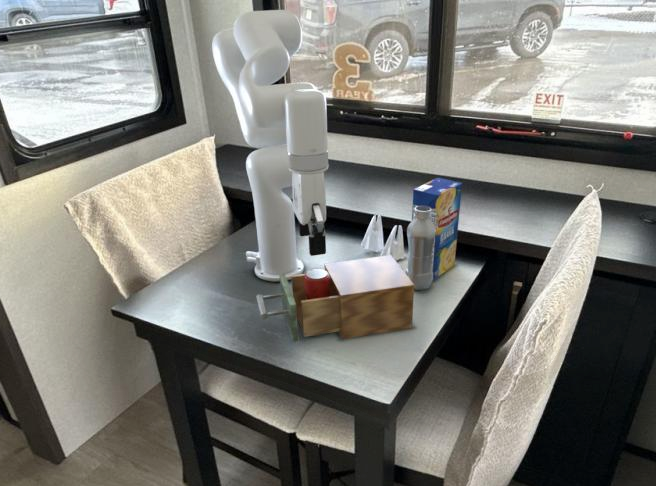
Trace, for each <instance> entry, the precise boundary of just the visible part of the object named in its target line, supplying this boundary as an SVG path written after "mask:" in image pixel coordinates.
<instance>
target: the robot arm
mask: <svg viewBox="0 0 656 486" xmlns="http://www.w3.org/2000/svg"><path fill="white" fill-rule="evenodd" d="M234 21H235V22H234V24H233V27H230V28H226V29H222V30H220V31H218V32H217V33H216V34H215V35H214V36H213V39H212V42H211V49H212V50H211V51H212V56H213V62H214V64H215V68H216V70H217V72H218V75H219V77H220V79H221V81H222V82H223V84H224V86H225V87H226V89H227V91H228V92H229V94H230V95H231V98H232V100H233V104H234V108H235V112H236V116H237V119H238V121H239V125H240V129H241V132H242V135H243V138H244V140H245V142H246V143H247V145H248V146H250V147H252V148H258V149H255V150H254V151H252V152H250V153H249V154H248V156H247V157H246V160H245V169H246V174H247V177H248V182H249V186H250V190H251V195H252V200H253V207H254V209H253V210H254V218H255V227H256V236H257V247H258V251H257V252H256V251H250V250H248V251H246V252H245V258H246V262H247V263H251V264H252V263H254V264H256V265H254V274H255V275H256V276H257V277H258V278H260V279H261V280H264V281H267V282H280V277H279V275H281V274H285V276H286V279H287V281H290V280H292V278H291V276H292V275H299V274H303V272H304V271H305V269H304V268H305V266H304V263H303V261H302V260H300V259H299V258H298V252H297V235H296V220H295V219H296V218H297V220H298V232H299V233H298V234H299V237H308V250H309V251H308V252H309V253H308V254H309V255H310V256H311V257H313V256H322V255H326V254H327V243H326V242H327V241H326V240H327V239H326V237H327V236H326V230H325V222H326V221H327V199H326V198H327V197H326V196H327V195H326V182H325V174H324V173H325V172H326V171H328V169H329V147H328V145H329V144H328V143H329V142H328V116H327V115H328V113H327V111H328V110H327V109H328V108H327V98H326V95H325V94H324V92H322V91H320V90H318V89H317V87H316V86H315V85H314V84H312V82H311V83H310V82H292V83H278V84H275V83H276V82H278V81H279V80H281V79H282V78H283V77H284V76H285V75H286V73H287V72H288V69H289V67H290V61H291V60H290V58H292V57H293V56H295V54H297V52H298V51H299V50H300V48H301V45H302V41H303V29H302V25H301V22H300V20H299V18H298V17H297V15H296V14H295V13H294V12H292V11H291V10H288V9H269V10H268V9H267V10H252V11H247V12H244V13H242V14H241V15H239V16H238V17H237V18H236V19H235V20H234ZM290 187H291V188H292V189H291V191H292V199H291V198H290V197H289V196H288V195H287V194H286V193H285V192H284V191H283V189H286V188H290Z"/></svg>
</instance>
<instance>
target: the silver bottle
mask: <svg viewBox="0 0 656 486" xmlns="http://www.w3.org/2000/svg"><path fill="white" fill-rule="evenodd" d="M414 217H415V218H414V219H413V220H412V219H411V222H410V223H409V224H408V226H407V228H406V236H407V243H408V258H407V266H406V269H405V273H406V275H407V276H408V277H409V278H410V280H411V281H412V282H413V284H414V290H416V291H417V290H418V291H419V290H420V291H421V290H427V289H429V288H430V286H431V285H432V284H433V281H434V280H433V271H432V250H433V244H434V239H435V235H436V229H435V226H434V224H433V222H432V221H431V220H430V218H431V208H430V207H428V206H417V207H415V212H414Z"/></svg>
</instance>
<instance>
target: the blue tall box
mask: <svg viewBox="0 0 656 486" xmlns="http://www.w3.org/2000/svg"><path fill="white" fill-rule="evenodd" d="M462 190H463V182H459V181H455V180H450V179H446V178H441V177H436V178H434V179H432V180H430V181H427V182H426V183H424V184H422V185H420V186H418V187H416V188H413V189H412V191H413V192H412V209H411V210H412V211H411V221H412V220H413V219H414V218H415V217H414V212H415V207H417V206H428V207H430V208H431V218H430V220H431V221H432V222H433V224H434V226H435V229H436V235H435V239H434V244H433V250H432V271H433V281H434V280H436V279H437V278H438V277H439V276H441V275H443V274H444V273H446V272H448V270H450V269H451V268H452V267H454V266H455V261H456V251H457V243H458V241H457V240H458V231H459V221H460V212H461V211H460V210H461V202H462V201H461V200H462Z"/></svg>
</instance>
